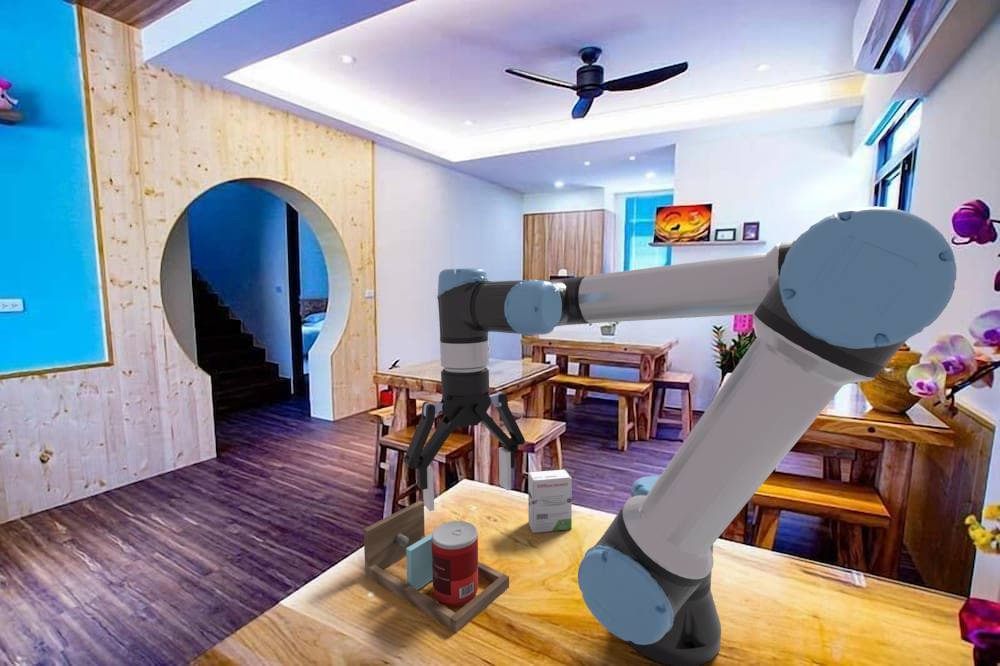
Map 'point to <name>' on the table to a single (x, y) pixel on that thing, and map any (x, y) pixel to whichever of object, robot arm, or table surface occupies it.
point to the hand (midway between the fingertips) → (468, 496)
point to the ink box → (549, 501)
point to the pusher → (419, 562)
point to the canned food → (455, 563)
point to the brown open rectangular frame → (389, 546)
